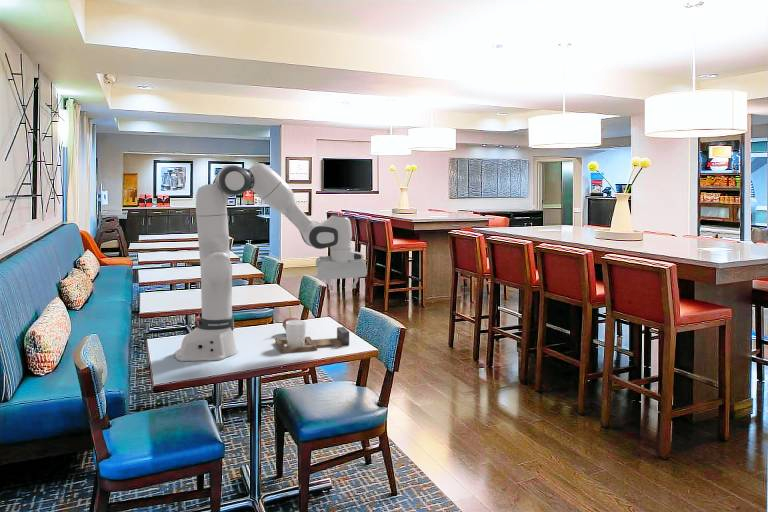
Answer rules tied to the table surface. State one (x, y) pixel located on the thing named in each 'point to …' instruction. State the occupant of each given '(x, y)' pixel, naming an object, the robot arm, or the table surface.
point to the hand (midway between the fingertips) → (342, 289)
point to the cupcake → (288, 319)
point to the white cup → (295, 333)
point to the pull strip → (316, 342)
